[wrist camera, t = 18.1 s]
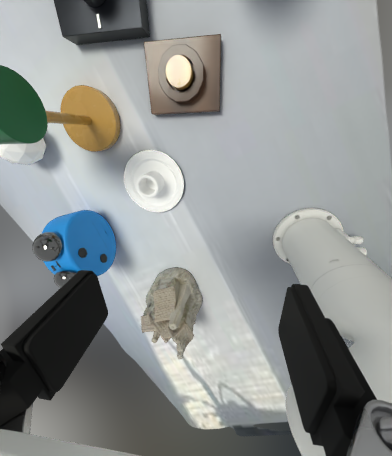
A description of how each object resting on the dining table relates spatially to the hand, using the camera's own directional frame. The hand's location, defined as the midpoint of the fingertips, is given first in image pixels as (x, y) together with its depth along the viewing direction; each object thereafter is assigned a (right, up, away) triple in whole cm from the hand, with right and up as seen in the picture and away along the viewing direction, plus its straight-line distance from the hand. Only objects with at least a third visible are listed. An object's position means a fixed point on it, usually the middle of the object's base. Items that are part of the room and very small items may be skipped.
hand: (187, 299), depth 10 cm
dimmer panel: (-13, +36, +18) cm, 42 cm away
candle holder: (-8, +13, +29) cm, 33 cm away
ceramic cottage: (-6, -14, +42) cm, 44 cm away
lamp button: (-2, +25, +18) cm, 31 cm away
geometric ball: (-31, +21, +29) cm, 47 cm away
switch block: (-1, +27, +21) cm, 34 cm away
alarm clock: (-21, +3, +36) cm, 42 cm away
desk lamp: (-18, +23, +26) cm, 39 cm away
